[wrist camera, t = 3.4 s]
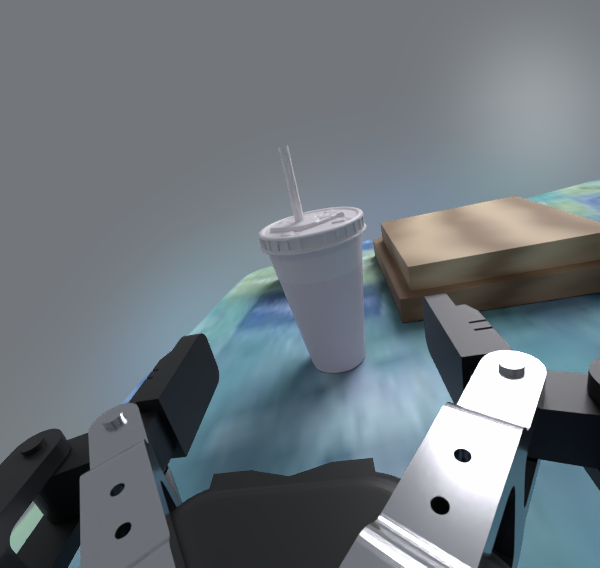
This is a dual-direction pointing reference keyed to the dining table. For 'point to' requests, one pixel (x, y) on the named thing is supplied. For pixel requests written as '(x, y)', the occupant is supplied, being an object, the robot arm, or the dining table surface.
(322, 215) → the smoothie
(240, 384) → the dining table surface
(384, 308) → the dining table surface
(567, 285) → the plinth
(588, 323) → the dining table surface
